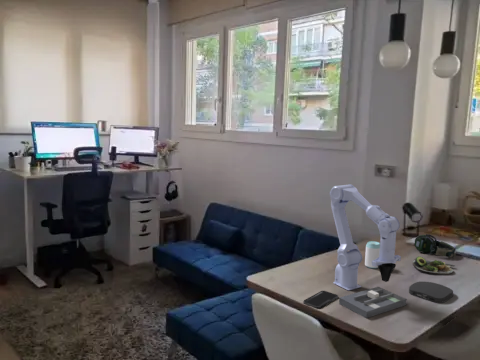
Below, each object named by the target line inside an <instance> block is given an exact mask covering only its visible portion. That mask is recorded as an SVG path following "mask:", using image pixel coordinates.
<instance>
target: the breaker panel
mask: <svg viewBox="0 0 480 360" xmlns="http://www.w3.org/2000/svg"><path fill="white" fill-rule="evenodd" d="M371 290H372V291H375V292H377V293H379V297H377V298H374V299H372V298H370V297H368V296H367V293H368V291H371ZM338 299H339V301H338V303H339V305H341V306H343V307H345V308H346V309H349V310H350V311H352V312H354V313H356V314H357V315H360V316H361V317H363V318H366V319H368V318H371V317H374V316H377V315H380V314H384V313H386V312H390V311H393V310H395V309H398V308H402V307H404V306H407V298H406V297H403V296H401V295H398V294H397V293H394V292H392V291H389V290H387V289H384V288H383V287H380V286H376V287H372V288H369V289H365V290H361V291H358V292H354V293H351V294H348V295H347V294H346V295H344V296H340V297H338Z"/></svg>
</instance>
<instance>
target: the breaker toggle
mask: <svg viewBox="0 0 480 360" xmlns="http://www.w3.org/2000/svg"><path fill="white" fill-rule="evenodd" d="M367 296H368V297H370V298H372V299H374V298H377V297H379V293H377V292H375V291H372V290H371V291H368V293H367Z"/></svg>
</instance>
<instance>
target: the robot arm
mask: <svg viewBox="0 0 480 360" xmlns="http://www.w3.org/2000/svg"><path fill="white" fill-rule="evenodd" d="M329 198H330V208H331V212H332V216H333V220H334V224H335V229H336V233H337V236H338V240H339V244H340V245H339V247H338V249H337V251H336V252H337V263H338V264H336V267H335V271H334V281H333V284H334V285H337V286H338V287H340V288H342V289H344V290H345V291H352V290H356V289H360V288H362V285H360V284H358V275H359V267H360V263H362V261H363V254H362V253H361V250H360V249H359V246H358V245H357V244H355V243H354V240H353V237H352V232H351V229H350V228H351V227H350V226H349V220H348V216H347V213H346V212H347V211H346V209H345V208H346V206H347V204H348V203H349V202H350V201H351V202H353V203H354V204H355V205H357V206H358V207H360V208H361V209H362V210H363V211H365V214H366V217H368V218H369V219H370V221H372V222H373V223H375V225H377V229H378V230H379V235H380V238H379V239H380V240H379V243H380V251H379V257H378V258H377V259H375V260H373V261H372V266H374V267H377V266H378V268H377V269H379V272H380V277H381V281H383V282H385V283H387V282H389V281H390V278H391V276H392V274H393V273H392V272H393V271H394V269H395V268H396V265H397V264H396V263H397V262H401V260H402V259H401V258H402V256H401V255H398V254H395V253H396V242H397V241H396V240H397V239H396V238H397V231H399V230H400V225H401V224H400V221H399V219H398V218H397V217H396V216H390V214H389V213H386V212H385V211H384V210H383V209H382V208H381V206H380V205H377V204H371V202H369V201H368V199H366V198H365V197H364V196H363V195H362V194H361V193H360V192H359V190H358V188H357V187H355V186H354V185H353V184H351V183H349V184H343V185H342V184H341V185H334V186H332V188H331V189H330V191H329Z"/></svg>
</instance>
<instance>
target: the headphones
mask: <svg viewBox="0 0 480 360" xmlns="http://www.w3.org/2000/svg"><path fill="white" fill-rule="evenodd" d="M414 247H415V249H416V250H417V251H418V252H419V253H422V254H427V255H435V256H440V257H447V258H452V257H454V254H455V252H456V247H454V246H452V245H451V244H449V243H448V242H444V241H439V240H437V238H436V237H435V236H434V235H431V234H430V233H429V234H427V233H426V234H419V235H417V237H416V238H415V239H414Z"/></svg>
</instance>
